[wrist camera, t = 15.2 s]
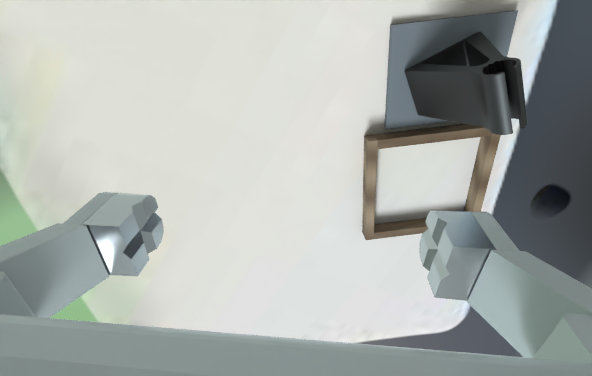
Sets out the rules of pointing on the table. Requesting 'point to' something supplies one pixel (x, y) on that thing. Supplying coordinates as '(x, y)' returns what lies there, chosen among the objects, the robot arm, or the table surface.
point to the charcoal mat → (425, 43)
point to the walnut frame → (420, 137)
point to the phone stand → (470, 86)
